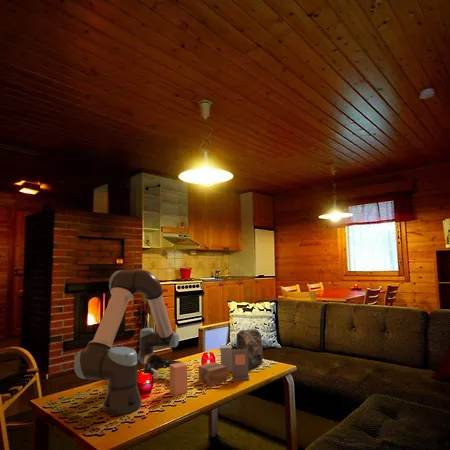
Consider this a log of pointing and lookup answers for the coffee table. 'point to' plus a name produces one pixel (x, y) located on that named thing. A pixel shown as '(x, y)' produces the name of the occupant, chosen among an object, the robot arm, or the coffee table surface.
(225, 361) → the slate-grey block
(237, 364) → the charcoal sign
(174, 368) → the terracotta block
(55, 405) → the coffee table surface
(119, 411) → the robot arm
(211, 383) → the walnut block
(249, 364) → the stone block
